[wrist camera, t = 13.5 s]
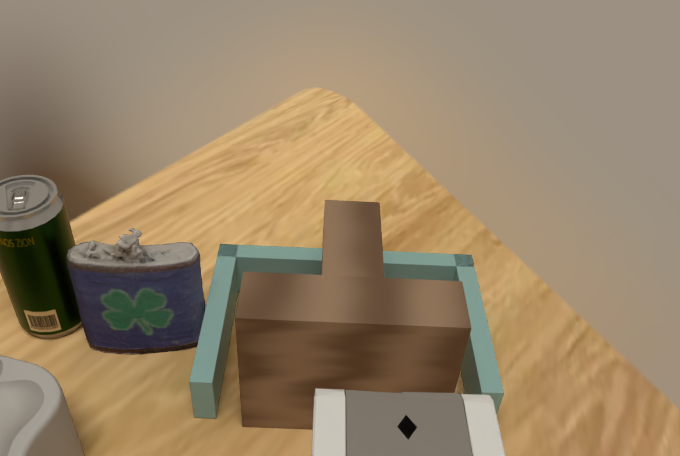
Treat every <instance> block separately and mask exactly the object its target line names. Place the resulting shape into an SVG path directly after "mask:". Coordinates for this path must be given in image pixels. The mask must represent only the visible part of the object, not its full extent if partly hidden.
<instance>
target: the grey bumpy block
mask: <svg viewBox="0 0 680 456" xmlns="http://www.w3.org/2000/svg"><path fill="white" fill-rule="evenodd" d="M0 456H85V455H84V452H83V449H82V446H81V443H80V440H79V437H78V434H77V431H76V429H75V426H74V423H73V420H72V417H71V414H70V411H69V408H68V405H67V402H66V400H65V397H64V394H63V391H62V388H61V386H60V384H59V383H58V381H57V380H56V378H55V377H54V376H53V375H52V374H51V373H50V372H49V371H47V370H46V369H44V368H42V367H40V366H38V365H36V364H32V363H29V362H25V361H21V360H17V359H13V358H10V357H6V356H1V355H0Z"/></svg>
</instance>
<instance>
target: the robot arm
mask: <svg viewBox="0 0 680 456" xmlns="http://www.w3.org/2000/svg"><path fill="white" fill-rule="evenodd" d="M311 456H506V455H505V451H504V446H503V442H502V437H501V433H500V428H499V424H498V419H497V415H496V410H495V406H494V401H493V400H492V398H491V396H490V395H483V394H459V393H432V392H402V393H394V392H376V391H358V390H344V389H317V388H316V389H315V395H314V412H313V432H312V453H311Z"/></svg>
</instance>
